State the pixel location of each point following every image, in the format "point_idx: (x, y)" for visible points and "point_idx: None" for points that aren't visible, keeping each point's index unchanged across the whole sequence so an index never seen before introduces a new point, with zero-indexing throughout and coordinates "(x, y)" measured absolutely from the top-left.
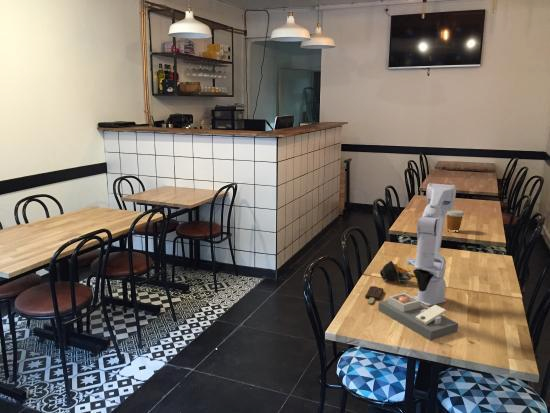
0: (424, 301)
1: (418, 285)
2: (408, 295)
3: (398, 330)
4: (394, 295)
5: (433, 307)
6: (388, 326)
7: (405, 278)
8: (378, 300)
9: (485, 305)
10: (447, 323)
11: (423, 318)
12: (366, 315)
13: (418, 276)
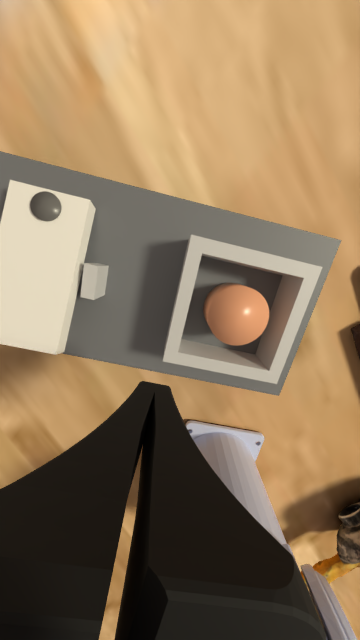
0: (210, 435)
1: (169, 404)
2: (243, 370)
3: (141, 133)
4: (302, 312)
5: (48, 324)
6: (194, 130)
7: (354, 529)
8: (354, 327)
9: None
10: None
11: (35, 199)
12: (328, 148)
13: (154, 489)
